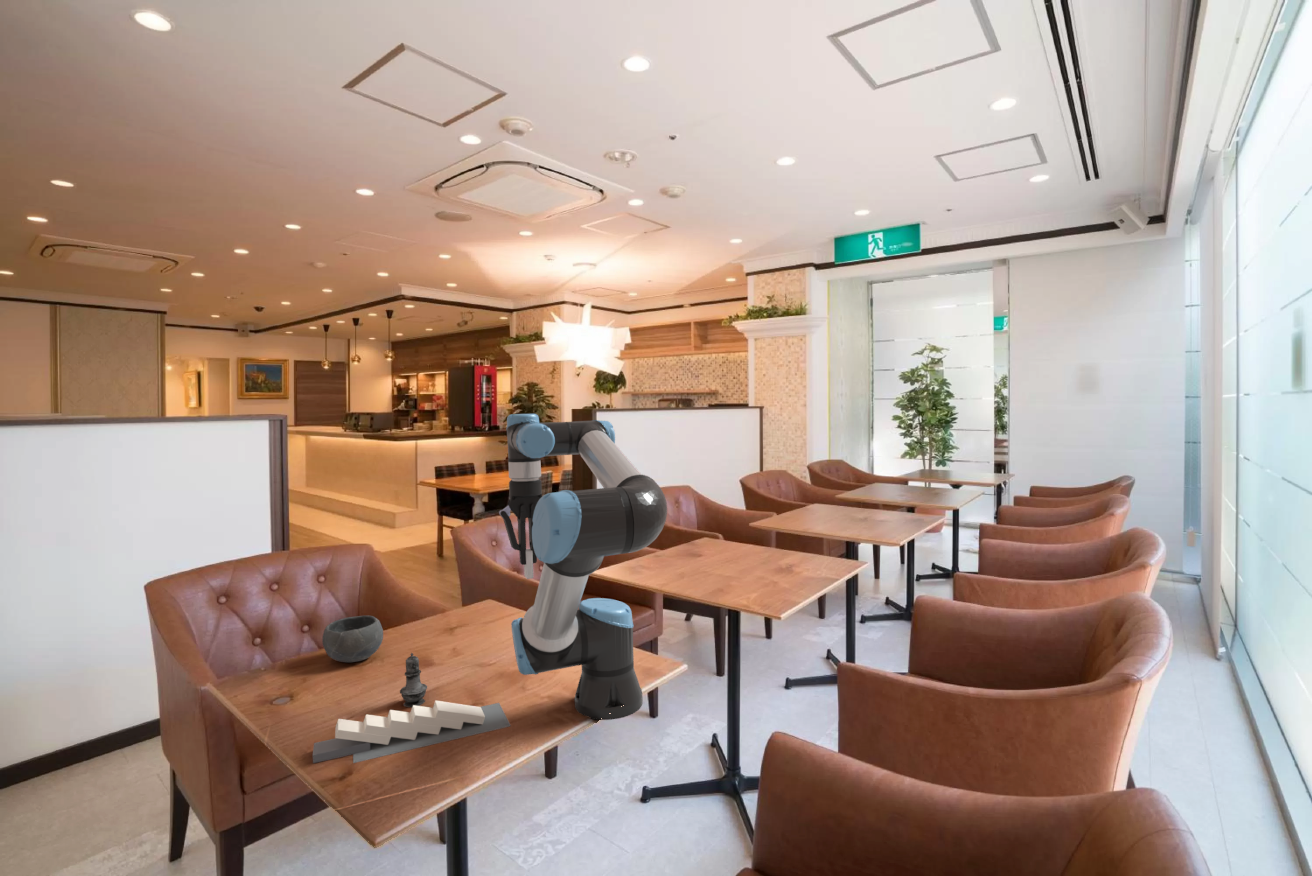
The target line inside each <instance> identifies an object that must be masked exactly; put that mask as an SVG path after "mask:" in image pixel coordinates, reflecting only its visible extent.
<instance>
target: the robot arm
mask: <svg viewBox="0 0 1312 876" xmlns="http://www.w3.org/2000/svg"><path fill="white" fill-rule="evenodd" d="M506 436H507V453H508V454H507V456H508V457H507V461H508V478H509V479H511V480H509V482H508V485H509V487H508V489H509V490H508V491H509V500H508V502H507V505H506V506H505V507H503V509H499V511H498V514H499V516H500V517H501V518H502V519H503V522H504V523H503V524H504V527H505V529H506V530H505V531H506V533H507V537H508V541H509V544H510V547H511V548H512V549H513V550H515V551H518V553H519V562H520V565H521V566H523V569H524V570H523V571H524V573H523V574H524V577H525V579H526V580H530V579H534V564H537V562H538V560H539V561H541V562H542V563H543V566H542V570H541V574H540V579H539V583H538V587H537V590H536V595H535V599H534V603H533V605H531V606H530V607H529V608H528V609H527V611H526V612H525V614H524V616H523V617H518V618H516V619H513V620H512V621H511V634H512V642H513V648H514V653H515V654H514V655H515V661H516V665H517V669H518V672H519V673H520V674H522V675H524V676H528V675H538V674H541V673H546V672H551V671H557V670H562V669H567V668H568V669H569V668H572V667H578V666H579V667H580V666H581V674H580V677H579V681H578V684H577V688H576V692H575V694H574V708H575V710H576V711H577V712H578V713H579V714H580V715H582V716H584V717H587V718H590V719H592V720H598V719H600V720H601V721H611V720H618V719H621V718H625V717H628V716H631V715H633V714H635V713H637V712H638V711H639V710H640V709H641V708H642V706H643V702H644V700H643V690H642V688H641V685H640V683H639V679H638V676H637V673H636V671H635V665H634V663H635V662H634V659H635V658H634V657H635V656H634V622H633V621H634V620H633V614H632V613H633V612H632V609H631V608H630V606H629V605H628V604H627V603H625V602H623V601H619V600H616V599H613V598H604V597H602V598H601V597H593V598H586V599H584V600H582V598H583V594H584V591H585V588H586V586H587V582H588V579H589V576H590V575H591V574H593V573H595V571H597V570H598V569H599V567H601V565H602V563H603V560H604V558H605V557H608V556H615V555H616V556H617V555H624V554H630V553H636V552H638V551H641V550H643V549H645V548H647V547H648V546H650V545H651V544H652V543H653V542H654V541H655V540H656V539H658V537H659V535H660V534H661V532H662V531H663V529H664V526H665V525H666V522H667V517H668V504H667V498H666V496H665V494H664V492H663V489H662V488H661V487H660V485H659V484H658V483H657V482H656V481H655V480H654V479H653V478H652V477H650V476H649V475H646V474H643V473H641V472H640V471H639V470H638V469H637V467H635V465H634V464H633V463H632V462H631V461H630V459H628V457H627V456H626V455H625V454H624V453H623V451H622V450H621V449H620V448H619V447H618V446H617V444H616V433H615V429H614V426H613V424H612V423H611V421H609V420H597V419H592V420H578V421H575V420H574V421H557V422H555V421H554V422H553V421H551V422H540V417H539V415H538V414H536V413H515V414H514V413H513V414H508V416H507V418H506ZM573 455H579V456H580V457H581V458H582V459H583V461H584V462H585V464H586V465H587V466H588V468H589V469H590V471H591V472H592V474H593V476H594V477H595V478H596V479H597V481H598V482H599V484H600V485H601V488H591V489H589V488H588V489H579V490H569V489H564V490H563V489H562V490H559V491H556V492H549V493H546V494H544V495H543V491H542V490H543V489H542V480H541V477H542V467H541V466H542V465H541V459H542V458H544V457H555V456H557V457H558V456H573ZM511 513H513V514H514V515H515V517H516V519H517V532H518V533H517V534H518V536H516V534H515V529H514V527H513V523H512V520H511V518H510V517H511ZM526 521H528V540H529V544H528V545H529V548H527V534H526V523H527V522H526ZM517 538H518V539H517ZM517 540H518V541H517ZM623 705H624V706H623ZM621 706H622V707H621ZM609 713H611V714H609ZM601 718H602V719H601Z"/></svg>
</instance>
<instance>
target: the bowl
mask: <svg viewBox="0 0 1312 876" xmlns="http://www.w3.org/2000/svg"><path fill="white" fill-rule="evenodd" d="M321 640H322V646H323V649H324V651H325V652H326V655H327V656H328V657H329V658H331V660H332V659H333V661H334V660H335V661H337V662H340V663H348V664H349V663H355V662H356V663H357V662H361V661H365V660H366V659H368V658H370V657H371V656H373V655H374V654H375V653H377V652H378V650H379V648H380V646H381V645H382V643H383V640H384V629H383V627H382V624H381V621H380V620H379V619H378V618H377V617H375V616H373V615H356V616H348V617H343V618H340V619H337V620H335V621H332V622H330V623H329V624H327V625H326V627H325V628H324V630H323V634H322V639H321Z"/></svg>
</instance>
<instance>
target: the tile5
mask: <svg viewBox="0 0 1312 876" xmlns="http://www.w3.org/2000/svg"><path fill="white" fill-rule="evenodd" d="M363 722H364V721H357V720H351V719H345V718H343V719H342V718H338V720H337V722H336V725H335V729H334V730H335V731H334V732H335V733H334V739H335V738H339V739H347V740H355V741H362V742H370V743H378V744H386V745H388V744H389V741H390V738H391V737H389V736H382V735H374V734H367V733H364V726H363Z"/></svg>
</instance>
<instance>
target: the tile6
mask: <svg viewBox="0 0 1312 876" xmlns="http://www.w3.org/2000/svg"><path fill="white" fill-rule="evenodd" d="M312 749H313V750H312V764H316V763H321V762H325V761H329V760H334V759H338V758H342V757H347V756H351V755H352V756H353V754H356V753H361V752H365V751H369V750H370V742H362V741H355V740H347V739H339V738H335V737H334V738H331V739H326V740H322V741H317V742H314V743H313V747H312Z"/></svg>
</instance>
